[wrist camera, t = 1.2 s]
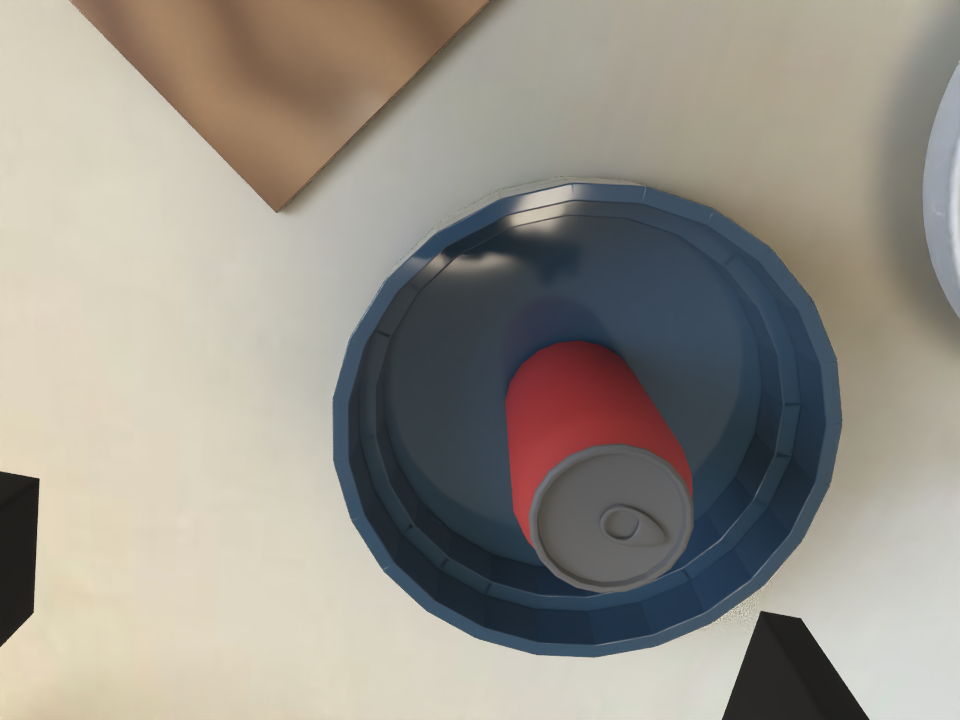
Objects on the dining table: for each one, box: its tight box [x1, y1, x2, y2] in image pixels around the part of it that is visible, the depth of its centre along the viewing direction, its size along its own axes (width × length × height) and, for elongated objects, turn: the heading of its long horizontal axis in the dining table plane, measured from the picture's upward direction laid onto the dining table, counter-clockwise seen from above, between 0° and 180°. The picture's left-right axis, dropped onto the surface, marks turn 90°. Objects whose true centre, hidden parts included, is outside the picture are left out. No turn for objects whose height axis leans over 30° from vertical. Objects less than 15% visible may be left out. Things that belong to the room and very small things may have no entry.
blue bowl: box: [333, 176, 842, 657], centre depth 34 cm, size 21×21×6 cm
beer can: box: [505, 341, 694, 593], centre depth 31 cm, size 7×7×12 cm
